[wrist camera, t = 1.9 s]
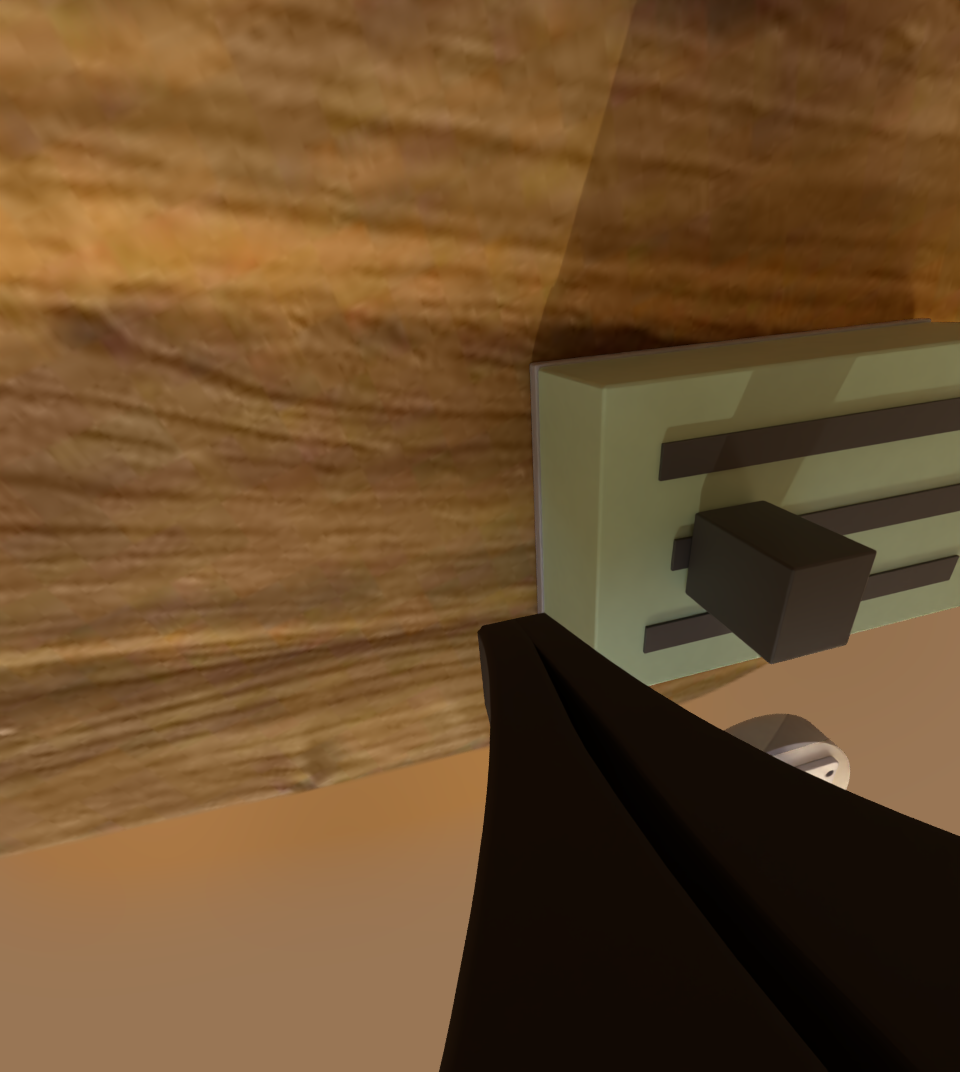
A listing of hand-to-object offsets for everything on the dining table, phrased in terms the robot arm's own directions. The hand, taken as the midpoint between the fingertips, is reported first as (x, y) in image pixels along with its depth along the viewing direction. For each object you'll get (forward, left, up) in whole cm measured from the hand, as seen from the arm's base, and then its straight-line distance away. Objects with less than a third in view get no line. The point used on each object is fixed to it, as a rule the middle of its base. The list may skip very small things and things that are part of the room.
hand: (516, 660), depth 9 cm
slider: (0, -7, -2) cm, 7 cm away
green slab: (0, -10, -7) cm, 12 cm away
